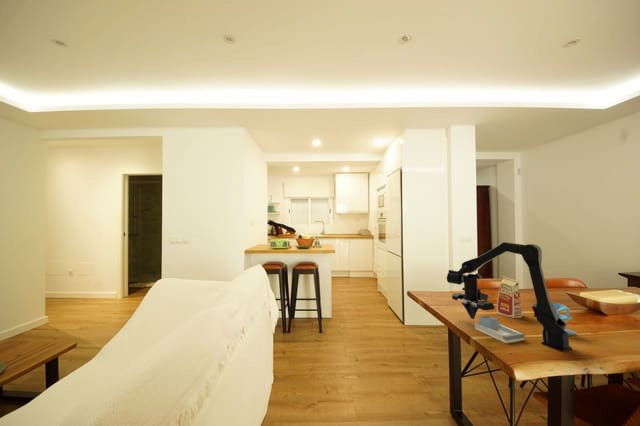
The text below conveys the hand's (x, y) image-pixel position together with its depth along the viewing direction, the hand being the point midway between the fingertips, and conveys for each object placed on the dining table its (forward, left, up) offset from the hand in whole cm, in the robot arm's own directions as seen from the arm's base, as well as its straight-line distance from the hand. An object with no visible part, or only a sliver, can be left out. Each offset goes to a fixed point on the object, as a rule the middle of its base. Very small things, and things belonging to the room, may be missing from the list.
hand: (472, 318), depth 114 cm
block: (-9, 0, -1) cm, 9 cm away
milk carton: (+3, -29, -2) cm, 30 cm away
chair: (-18, -28, -2) cm, 34 cm away
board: (-13, 0, -2) cm, 13 cm away
